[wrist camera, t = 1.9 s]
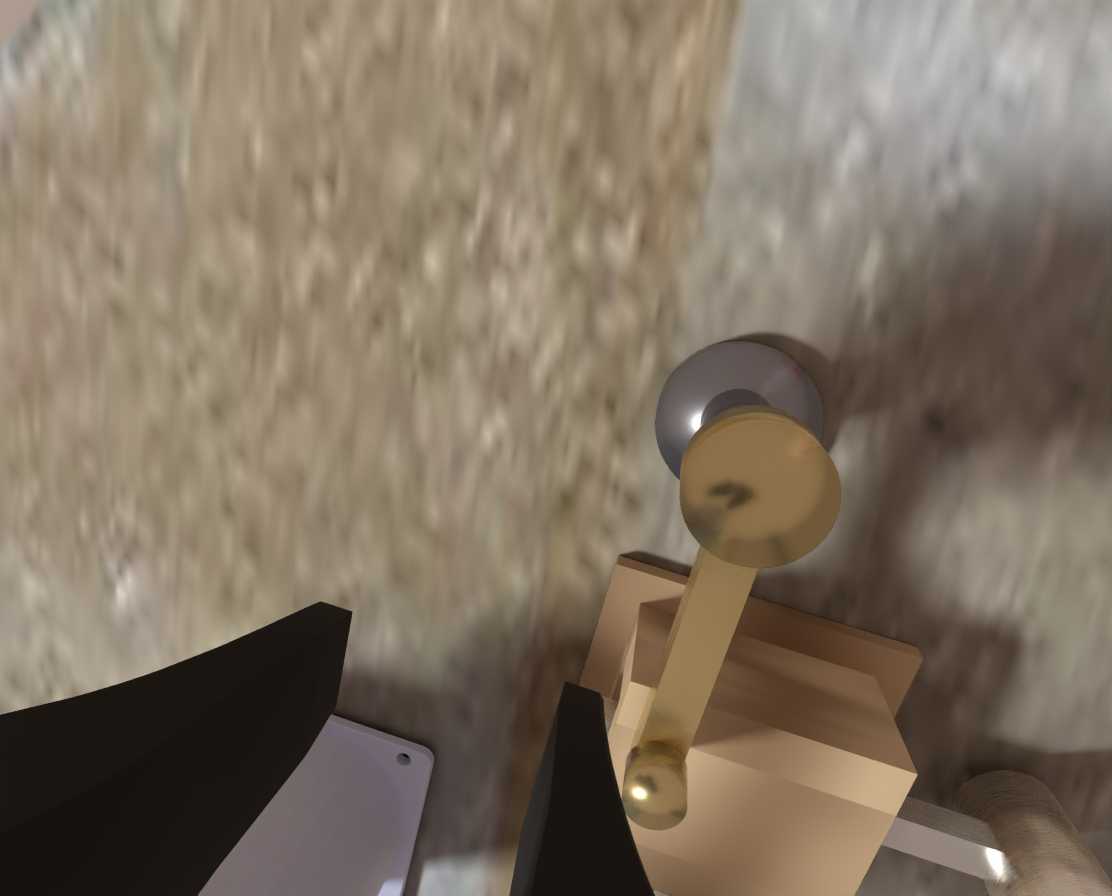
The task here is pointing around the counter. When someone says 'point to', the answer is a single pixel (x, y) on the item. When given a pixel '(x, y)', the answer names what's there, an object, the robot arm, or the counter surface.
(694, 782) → the block
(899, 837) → the hook rod
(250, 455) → the counter surface
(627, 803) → the lever
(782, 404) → the lever post
